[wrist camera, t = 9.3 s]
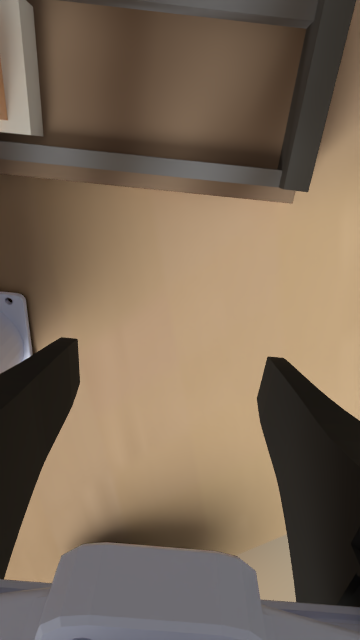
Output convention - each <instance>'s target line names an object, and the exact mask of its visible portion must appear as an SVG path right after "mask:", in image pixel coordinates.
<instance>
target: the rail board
mask: <svg viewBox="0 0 360 640" xmlns="http://www.w3.org/2000/svg"><path fill="white" fill-rule="evenodd" d="M26 1H27V2H28V3H30V4H31V5H32V6H33V11H34V24H35V36H36V49H37V61H38V74H39V86H40V99H41V111H42V124H43V136H33V135H24V134H14V133H5V132H0V174H6V175H16V176H26V177H36V178H46V179H56V180H66V181H75V182H85V183H95V184H105V185H115V186H125V187H135V188H144V189H154V190H164V191H174V192H184V193H194V194H204V195H213V196H223V197H233V198H243V199H253V200H263V201H273V202H282V203H293V199H294V195H295V191H303V192H308V190H309V186H310V182H311V178H312V174H313V170H314V166H315V162H316V158H317V154H318V150H319V146H320V142H321V138H322V134H323V130H324V126H325V122H326V118H327V114H328V110H329V106H330V102H331V98H332V94H333V90H334V86H335V82H336V78H337V74H338V70H339V66H340V62H341V58H342V54H343V50H344V46H345V42H346V38H347V34H348V30H349V26H350V22H351V18H352V14H353V10H354V6H355V2H356V0H26Z"/></svg>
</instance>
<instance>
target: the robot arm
mask: <svg viewBox="0 0 360 640" xmlns="http://www.w3.org/2000/svg"><path fill="white" fill-rule="evenodd" d="M7 298H11V299H12V301H13V302H10V301H8V299H7ZM79 384H80V375H79V356H78V339H73V338H62V337H61V338H59V339H58V340H56V341H54V342H53V343H51V344H49V345H48V346H46V347H45V348H43V349H42V350H40V351H38V352H37V353H35V354H33V353H32V345H31V337H30V329H29V321H28V313H27V305H26V299H25V297H24V296H23V295H22V294H19V293H12V292H1V291H0V640H360V421H359V420H358V419H356V418H355V417H353V416H352V415H350V414H349V413H348V412H346V411H345V410H344V409H342V408H341V407H340V406H339V405H337V404H336V403H335V402H333V401H332V400H331V399H330V398H328V397H327V396H326V395H325V394H324V393H322V392H321V391H320V390H319V389H318V388H317V387H316V386H314V385H313V384H312V383H311V382H310V381H309V380H308V379H307V378H306V377H304V376H303V375H302V374H301V373H300V372H299V371H298V370H297V369H296V368H295V367H294V366H292V365H291V364H290V363H289V362H288V361H287V360H285V359H284V358H278V357H267V361H266V365H265V369H264V373H263V377H262V381H261V385H260V389H259V393H258V397H257V403H258V411H259V417H260V423H261V426H262V430H263V434H264V437H265V440H266V444H267V447H268V451H269V454H270V457H271V461H272V464H273V468H274V471H275V474H276V478H277V482H278V486H279V491H280V496H281V502H282V507H283V512H284V518H285V524H286V531H287V537H288V543H289V549H290V557H291V563H292V570H293V578H294V586H295V595H296V602H285V601H271V600H260V594H259V588H258V582H257V575H256V571H255V570H254V569H252V568H251V567H250V566H249V565H248V564H246V563H245V562H244V561H242V560H241V559H240V558H238V557H237V556H234V555H230V554H226V553H222V552H218V551H209V550H197V549H185V548H172V547H160V546H148V545H135V544H123V543H110V542H101V543H88V544H82V545H80V546H78V547H76V548H75V549H73V550H71V551H69V552H67V553H65V554H64V555H62V556H61V559H60V562H59V564H58V567H57V570H56V573H55V576H54V579H53V582H52V583H42V582H29V581H16V580H4V577H5V573H6V570H7V567H8V564H9V560H10V557H11V554H12V551H13V548H14V545H15V542H16V539H17V536H18V533H19V530H20V527H21V524H22V521H23V518H24V515H25V513H26V510H27V507H28V504H29V501H30V498H31V496H32V493H33V490H34V488H35V485H36V482H37V480H38V477H39V474H40V472H41V469H42V467H43V464H44V462H45V460H46V458H47V456H48V454H49V452H50V450H51V448H52V446H53V444H54V442H55V440H56V438H57V436H58V434H59V432H60V430H61V428H62V426H63V424H64V422H65V420H66V418H67V416H68V414H69V412H70V409H71V407H72V405H73V402H74V399H75V397H76V394H77V390H78V387H79Z"/></svg>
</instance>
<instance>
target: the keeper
mask: <svg viewBox="0 0 360 640" xmlns="http://www.w3.org/2000/svg"><path fill="white" fill-rule="evenodd" d="M0 132H5V133H14V134H24V135H33V136H43V124H42V111H41V99H40V86H39V74H38V61H37V49H36V36H35V24H34V11H33V6H32V5H31V4H30V3H28V2H27V1H26V0H0Z"/></svg>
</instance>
